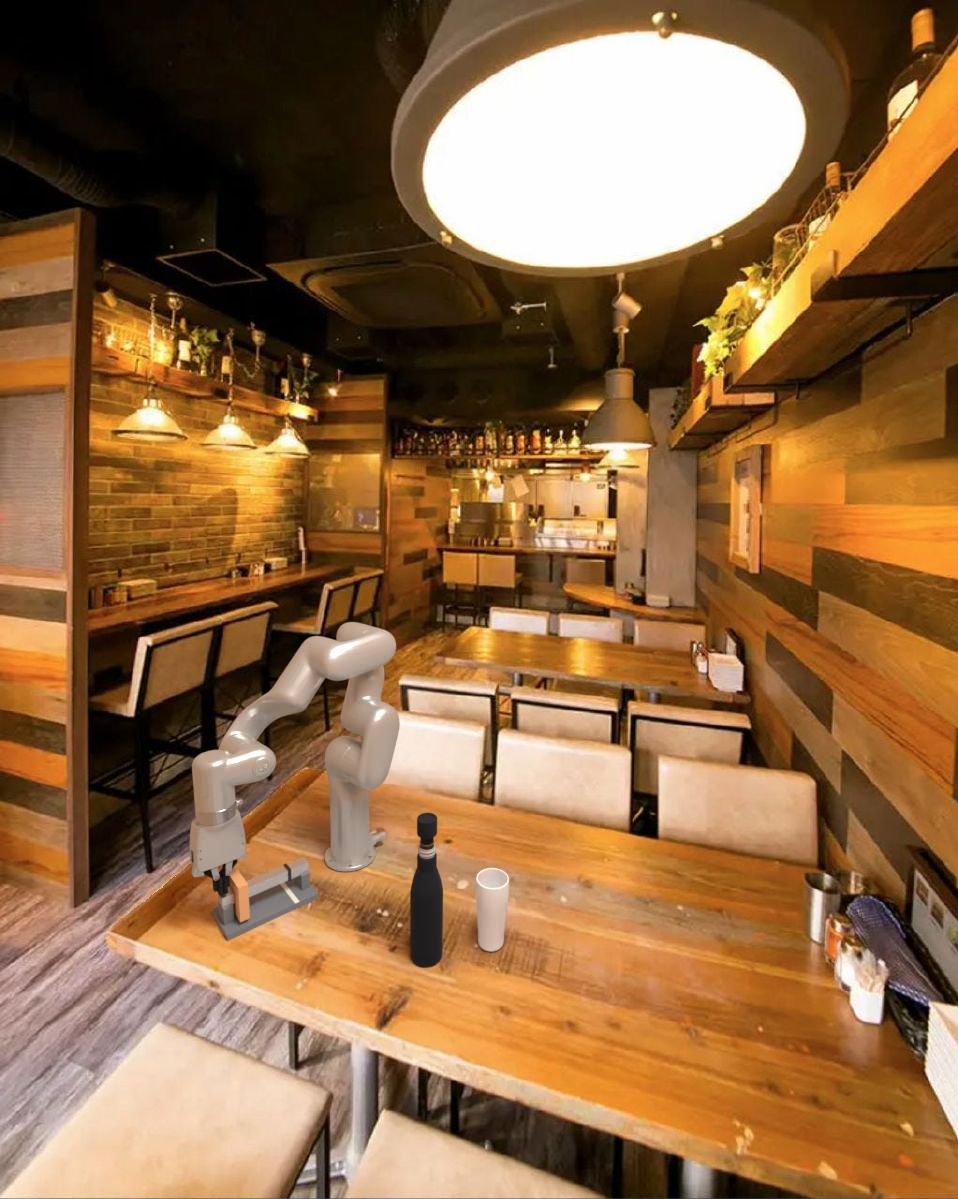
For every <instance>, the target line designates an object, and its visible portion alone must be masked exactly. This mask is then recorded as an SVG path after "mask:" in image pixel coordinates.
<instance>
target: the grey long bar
mask: <svg viewBox="0 0 958 1199" xmlns="http://www.w3.org/2000/svg"><path fill="white" fill-rule="evenodd" d="M309 870H310V869H309V861H308V860H307V859H306V858H305V857H304V856H302V857H301V858H298V859H296V860H294V861H291V862H289V863H284V864H282V865H281V866H279V867H277V868H274V869H271V870H269V871H267V872H265V873H262V874H260V875H257V876H255V877H252V878H250V879H248V880H245V881H246V882H247V883H248V891H249V897H251V896H253V895H256V894H258V893H260V892H263V891H265V890H267V889H269V888H272V887H274V886H276V885H279V884H281V883H283V882H286V881H290V880H292V879H293V878H295V877H297V876H299V875H302V874H304V873H306V872H310V871H309ZM217 896H218V901H219V904H220V905H221V907H222V909H223V908H226V907H228V906H230V905H233V904H235V903H236V898H235V891H234V890H233V888H232V887H230V888H228V894H224V895H223V896H221V897H220V896H219V894H218V893H217Z"/></svg>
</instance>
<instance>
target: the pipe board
mask: <svg viewBox="0 0 958 1199" xmlns="http://www.w3.org/2000/svg"><path fill="white" fill-rule="evenodd" d="M319 893H320V892H319V891H317V889H315V887H314V886H313V885H312V884H311V873H310V871H309V872H306V873H304V874H302V875H299V876H297V877H295V878H293V879H292V880H290V881H286V882H283V883H281V884H279V885H276V886H274V887H272V888H269V889H267V890H265V891H263V892H260V893H258V894H256V895H253V896H251V897H249V909H250V918H249V919H247V920H245V921H243V922H241V923H240V921H239V920H238V918H237V917H236V915H235V913H234V906H233V905H230V906H228V907H226V908H223V909H222V907H221V905H220V904H219V900H218V901H217V906H215V907H213V908H211V914H212V917H213V918H214V920H215V922H216V923H217V926H219V929H220V931H221V933H222V934H223V936H224V937H225V939H226V940H227V941H230V940H233V939H234V938H235V939H236V938H237V937H239V936H240V935H243V934H245V933H247V932H250V931H251V930H254V929H256V928H258V927H260V926H263V925H264V924H266V923H268V922H270V921H273V920H275V919H277V918H279V917H281V916H283V915H285V914H288V913H290V912H292V911H295V910H296V909H298V908H300V907H302V906H305V905H306V904H309V903H311V902H313V901H316V900H317V899H319V896H320V894H319Z"/></svg>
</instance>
